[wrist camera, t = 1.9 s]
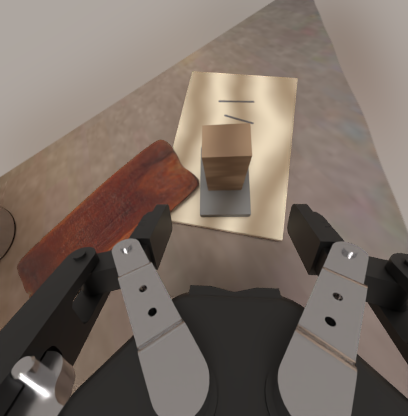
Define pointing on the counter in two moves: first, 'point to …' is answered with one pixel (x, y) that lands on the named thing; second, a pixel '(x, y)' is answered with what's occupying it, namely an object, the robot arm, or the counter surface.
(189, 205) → the birch board
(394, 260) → the robot arm
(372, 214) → the counter surface
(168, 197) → the wooden tablet
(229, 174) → the block
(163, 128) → the counter surface
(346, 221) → the counter surface
